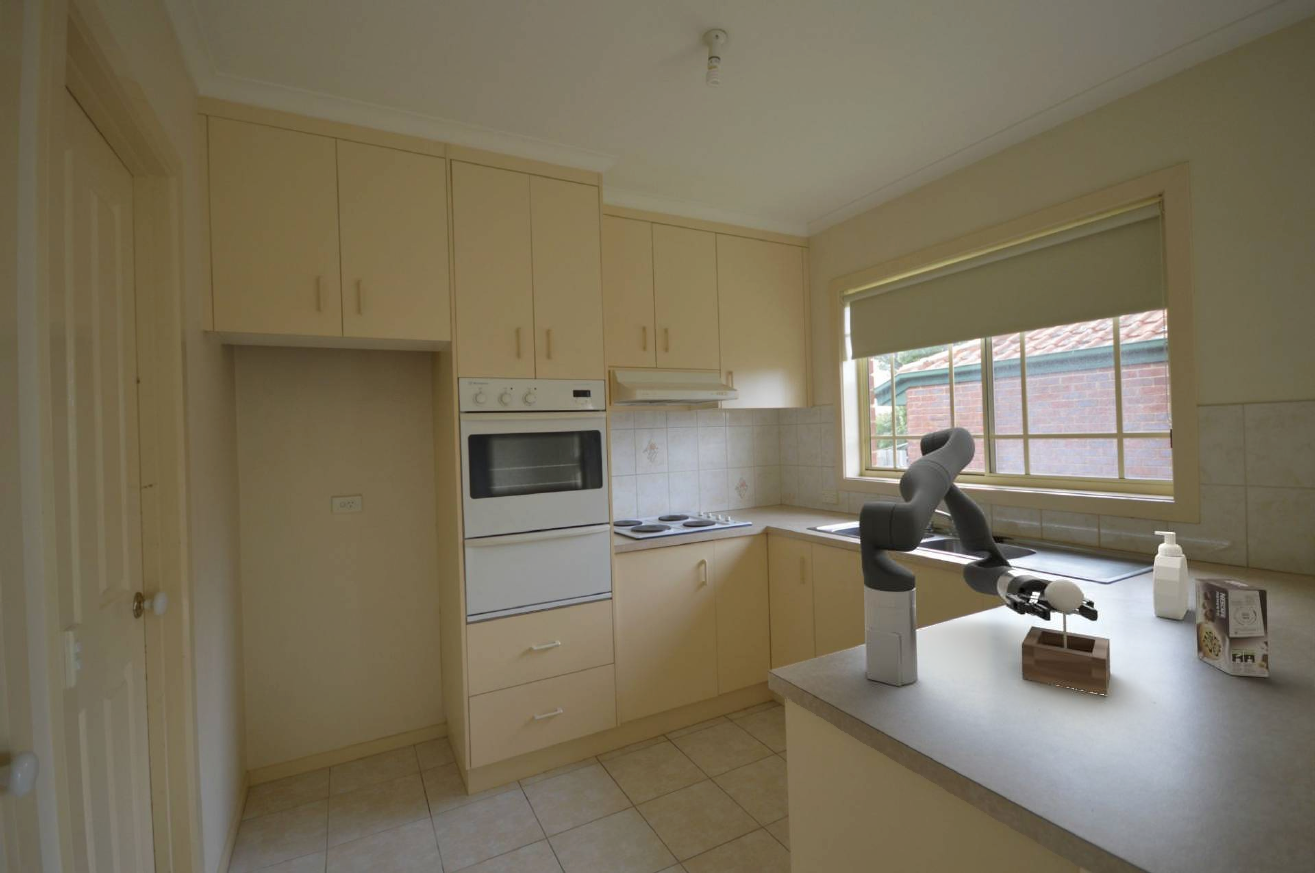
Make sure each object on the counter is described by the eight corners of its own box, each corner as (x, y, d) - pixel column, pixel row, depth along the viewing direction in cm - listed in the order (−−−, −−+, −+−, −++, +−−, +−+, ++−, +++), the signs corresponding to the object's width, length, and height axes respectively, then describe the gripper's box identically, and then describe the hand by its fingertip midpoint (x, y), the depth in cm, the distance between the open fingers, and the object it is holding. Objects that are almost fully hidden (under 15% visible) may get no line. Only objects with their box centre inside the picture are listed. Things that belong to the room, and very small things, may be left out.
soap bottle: (1161, 603, 152) (1159, 527, 152) (1188, 607, 148) (1187, 529, 148) (1151, 617, 141) (1149, 535, 141) (1180, 622, 137) (1178, 538, 137)
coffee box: (1271, 677, 107) (1269, 590, 107) (1229, 675, 108) (1227, 589, 108) (1232, 658, 116) (1231, 577, 116) (1195, 657, 117) (1193, 577, 117)
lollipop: (1079, 655, 112) (1077, 577, 112) (1091, 666, 106) (1088, 584, 106) (1042, 652, 114) (1040, 575, 114) (1051, 663, 108) (1049, 582, 108)
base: (1106, 696, 101) (1105, 659, 101) (1022, 678, 109) (1021, 643, 109) (1110, 672, 111) (1109, 638, 111) (1032, 657, 119) (1031, 626, 119)
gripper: (988, 574, 125) (1030, 595, 108) (1059, 573, 123) (1112, 595, 107) (989, 609, 125) (1031, 635, 108) (1060, 609, 123) (1113, 636, 107)
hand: (1071, 615), depth 108 cm, fingers open, 7 cm apart
